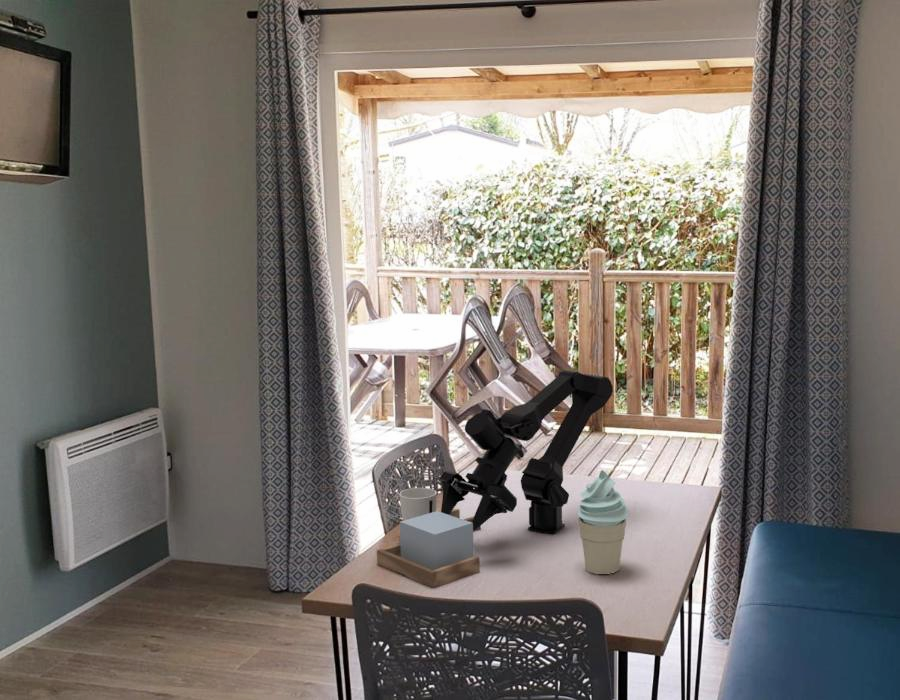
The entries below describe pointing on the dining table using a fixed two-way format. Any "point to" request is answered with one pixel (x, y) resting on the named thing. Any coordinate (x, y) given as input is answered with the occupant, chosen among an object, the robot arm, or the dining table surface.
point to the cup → (417, 502)
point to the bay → (432, 578)
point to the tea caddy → (436, 540)
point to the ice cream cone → (602, 525)
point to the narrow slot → (457, 514)
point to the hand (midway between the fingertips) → (456, 524)
